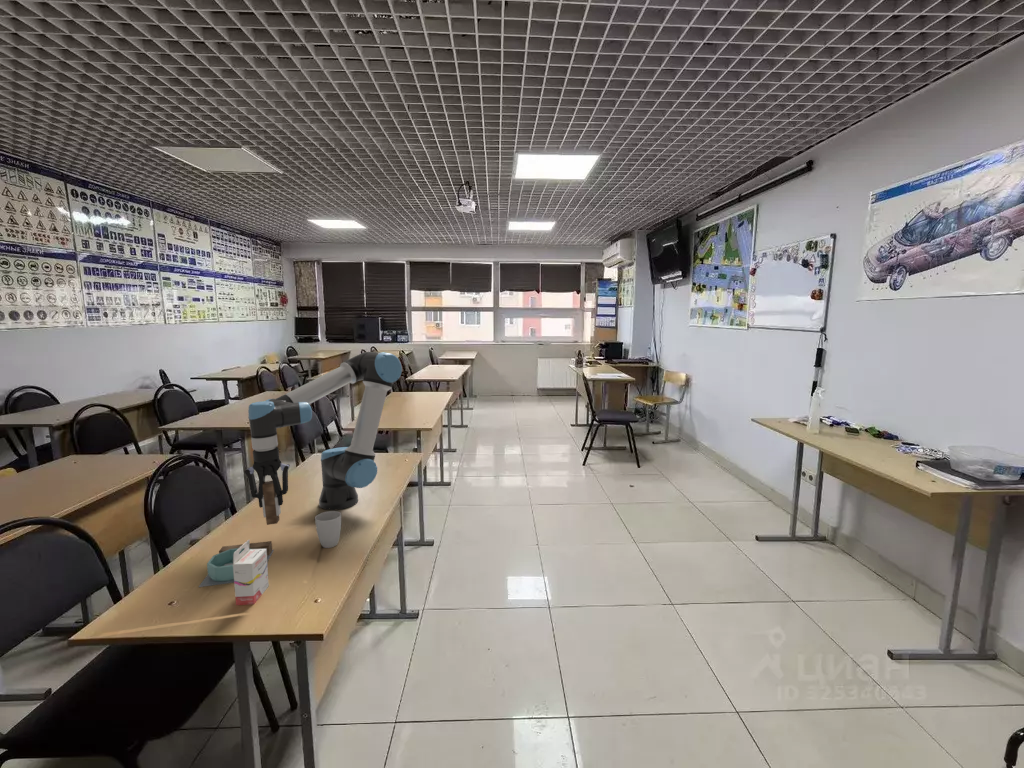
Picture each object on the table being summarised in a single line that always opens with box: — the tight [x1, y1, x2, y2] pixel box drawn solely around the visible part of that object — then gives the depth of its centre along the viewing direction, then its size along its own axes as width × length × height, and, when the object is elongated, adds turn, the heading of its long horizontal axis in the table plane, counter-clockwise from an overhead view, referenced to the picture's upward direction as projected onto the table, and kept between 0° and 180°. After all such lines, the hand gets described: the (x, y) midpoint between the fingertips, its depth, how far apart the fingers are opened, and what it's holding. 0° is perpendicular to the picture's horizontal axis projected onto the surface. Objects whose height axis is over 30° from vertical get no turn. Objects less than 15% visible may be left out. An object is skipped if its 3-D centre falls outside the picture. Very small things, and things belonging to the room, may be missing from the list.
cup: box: [314, 510, 342, 549], centre depth 149 cm, size 8×8×10 cm
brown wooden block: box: [263, 480, 280, 526], centre depth 151 cm, size 3×3×14 cm
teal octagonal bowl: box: [206, 548, 250, 582], centre depth 132 cm, size 11×11×4 cm
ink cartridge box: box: [233, 539, 269, 606], centre depth 120 cm, size 9×5×15 cm, turn 5°
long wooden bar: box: [218, 540, 273, 555], centre depth 141 cm, size 14×3×3 cm, turn 105°
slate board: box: [198, 549, 275, 588], centre depth 135 cm, size 15×18×1 cm
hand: (272, 514), depth 152 cm, fingers closed on brown wooden block, 3 cm apart
